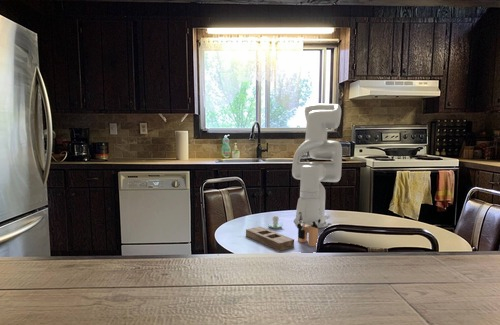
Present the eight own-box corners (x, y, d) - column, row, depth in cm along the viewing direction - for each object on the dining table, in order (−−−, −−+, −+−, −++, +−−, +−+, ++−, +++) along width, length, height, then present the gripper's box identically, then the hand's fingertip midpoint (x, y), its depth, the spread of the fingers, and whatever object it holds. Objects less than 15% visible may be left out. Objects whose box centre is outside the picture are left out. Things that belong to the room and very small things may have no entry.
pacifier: (267, 226, 164) (268, 229, 158) (267, 213, 163) (268, 216, 157) (281, 226, 164) (283, 229, 158) (282, 213, 164) (283, 216, 158)
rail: (259, 232, 152) (260, 226, 152) (293, 246, 134) (294, 239, 134) (245, 236, 147) (245, 229, 147) (279, 250, 130) (279, 243, 129)
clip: (302, 239, 144) (303, 223, 143) (317, 245, 137) (318, 228, 136) (297, 240, 142) (298, 224, 141) (312, 246, 135) (313, 229, 134)
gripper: (316, 191, 145) (315, 231, 147) (287, 195, 135) (286, 238, 137) (330, 194, 140) (328, 235, 141) (300, 198, 129) (299, 243, 131)
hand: (307, 236), depth 139 cm, fingers open, 7 cm apart
